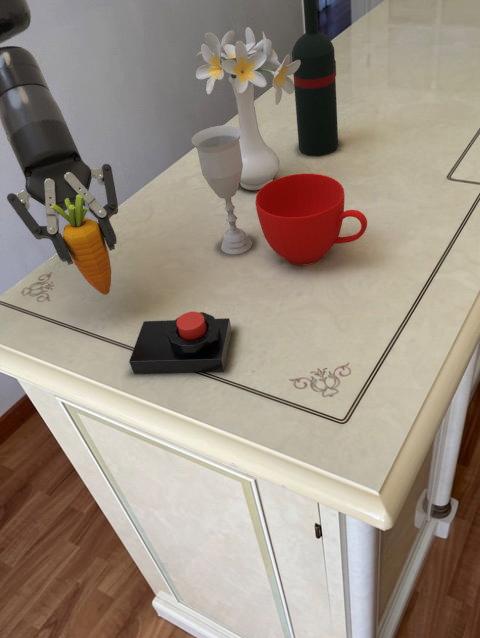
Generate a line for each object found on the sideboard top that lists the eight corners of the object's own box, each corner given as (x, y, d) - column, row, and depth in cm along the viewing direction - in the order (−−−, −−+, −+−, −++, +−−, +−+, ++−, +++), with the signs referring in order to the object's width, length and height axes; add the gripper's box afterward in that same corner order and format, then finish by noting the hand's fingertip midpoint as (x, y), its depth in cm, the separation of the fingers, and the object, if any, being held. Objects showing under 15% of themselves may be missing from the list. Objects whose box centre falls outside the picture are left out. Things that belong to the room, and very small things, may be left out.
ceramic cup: (348, 291, 84) (346, 230, 77) (248, 267, 91) (238, 208, 84) (383, 244, 91) (384, 184, 84) (288, 224, 98) (282, 167, 91)
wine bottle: (350, 137, 119) (346, -40, 98) (326, 158, 114) (317, -24, 93) (316, 132, 123) (306, -40, 102) (291, 153, 117) (275, -25, 96)
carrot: (82, 304, 82) (39, 207, 71) (98, 282, 85) (59, 187, 74) (114, 306, 81) (76, 209, 70) (129, 284, 84) (94, 188, 73)
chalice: (241, 228, 99) (222, 121, 86) (267, 242, 95) (251, 132, 82) (206, 247, 96) (181, 139, 83) (231, 263, 92) (209, 152, 79)
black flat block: (133, 373, 76) (124, 351, 74) (147, 333, 82) (139, 310, 79) (224, 371, 75) (218, 348, 72) (232, 330, 80) (227, 307, 78)
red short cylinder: (176, 340, 75) (173, 330, 73) (182, 322, 77) (179, 311, 76) (204, 339, 74) (201, 329, 73) (208, 321, 77) (206, 310, 75)
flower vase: (291, 205, 102) (276, 49, 85) (201, 193, 109) (169, 46, 92) (319, 171, 110) (310, 21, 93) (233, 161, 117) (210, 20, 99)
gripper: (-26, 136, 70) (32, 267, 71) (89, 103, 74) (144, 228, 74) (-11, 162, 77) (41, 281, 78) (93, 131, 81) (143, 245, 82)
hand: (91, 254), depth 76 cm, fingers closed on carrot, 5 cm apart
